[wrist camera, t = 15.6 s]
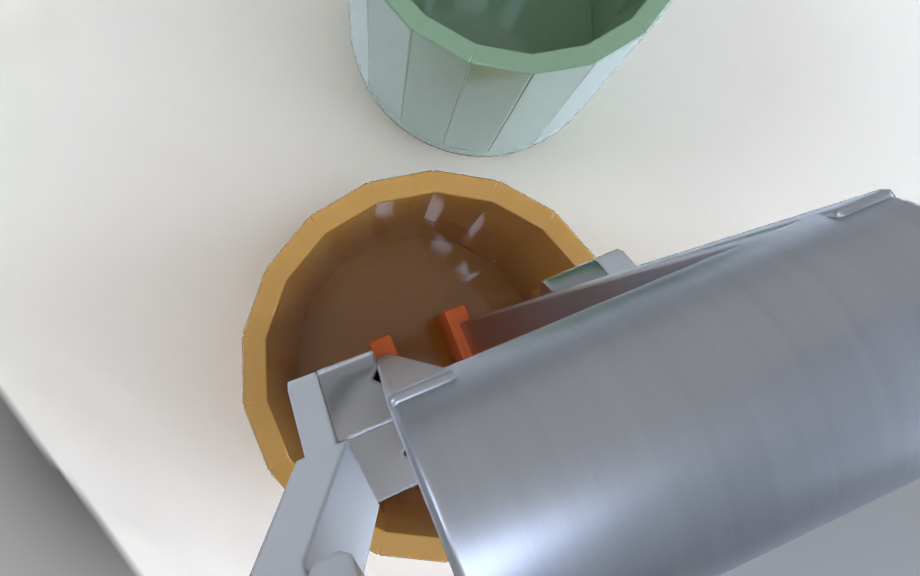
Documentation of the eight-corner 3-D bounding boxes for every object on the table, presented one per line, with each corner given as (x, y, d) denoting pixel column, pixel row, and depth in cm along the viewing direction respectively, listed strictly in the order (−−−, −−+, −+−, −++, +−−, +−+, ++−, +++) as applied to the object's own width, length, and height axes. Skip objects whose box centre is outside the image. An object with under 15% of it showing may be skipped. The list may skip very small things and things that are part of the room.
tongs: (452, 309, 25) (924, 70, 4) (480, 378, 25) (1137, 555, 4) (368, 343, 25) (342, 299, 3) (397, 414, 25) (566, 855, 3)
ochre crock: (488, 188, 29) (540, 117, 20) (587, 429, 29) (685, 467, 20) (243, 282, 27) (181, 251, 19) (344, 536, 27) (330, 629, 18)
